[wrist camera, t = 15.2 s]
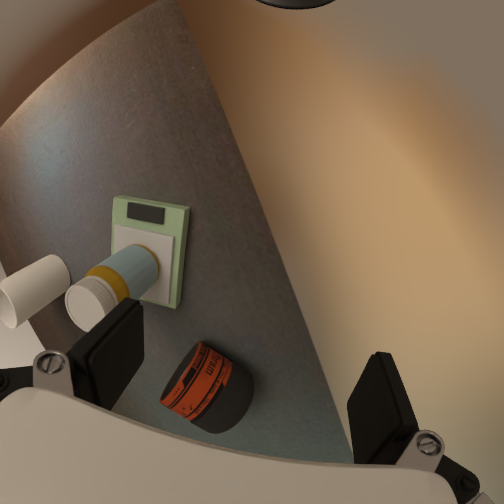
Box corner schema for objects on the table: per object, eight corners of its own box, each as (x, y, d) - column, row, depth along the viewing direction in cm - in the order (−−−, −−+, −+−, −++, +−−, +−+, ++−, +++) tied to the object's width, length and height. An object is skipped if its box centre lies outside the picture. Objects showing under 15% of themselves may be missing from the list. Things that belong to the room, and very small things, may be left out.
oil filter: (208, 327, 49) (185, 376, 37) (266, 364, 50) (259, 419, 38) (175, 368, 53) (150, 415, 41) (227, 400, 54) (213, 450, 42)
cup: (40, 253, 50) (-15, 282, 35) (66, 255, 49) (8, 288, 34) (48, 289, 52) (-2, 324, 37) (74, 294, 51) (22, 333, 36)
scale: (121, 195, 44) (110, 198, 41) (190, 206, 43) (182, 211, 40) (118, 284, 49) (109, 292, 46) (180, 302, 48) (173, 311, 45)
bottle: (151, 237, 42) (92, 277, 28) (167, 281, 44) (118, 335, 29) (115, 248, 43) (54, 286, 29) (131, 289, 45) (78, 338, 31)
